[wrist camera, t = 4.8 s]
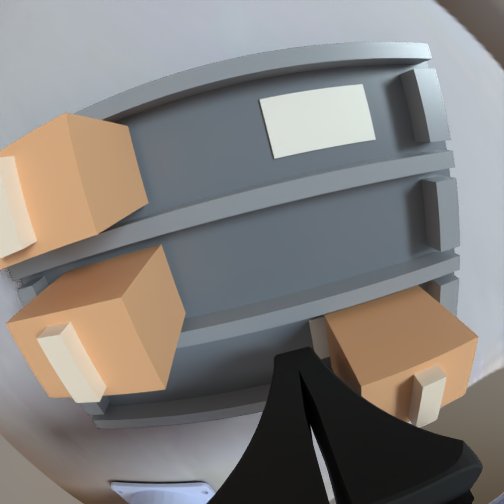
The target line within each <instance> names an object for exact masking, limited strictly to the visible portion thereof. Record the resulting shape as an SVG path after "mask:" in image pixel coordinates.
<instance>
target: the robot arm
mask: <svg viewBox="0 0 504 504" xmlns="http://www.w3.org/2000/svg"><path fill="white" fill-rule="evenodd" d="M310 425H311V426H310ZM311 427H312V430H313V433H314V435H315V438H316V440H317V443H318V446H319V448H320V451H321V453H322V456H323V458H324V461H325V464H326V467H327V470H328V473H329V477H330V481H331V485H332V489H333V492H334V496H335V500H336V504H472V502H473V500H474V497H473V495H472V493H471V491H470V489H471V487H472V486H473V484H474V483H475V482H476V480H477V479H478V477H479V475H480V473H481V471H482V468H483V467H482V463H481V462H480V460H479V459H478V457H477V455H476V454H475V453H474V452H473V451H472V450H471V449H470V447H469V446H467V444H466V443H465V442H464V441H462V440H458V439H454V438H450V437H446V436H442V435H438V434H435V433H432V432H429V431H426V430H424V429H421V428H418V427H416V426H414V425H412V424H409V423H407V422H405V421H403V420H401V419H399V418H396V417H394V416H392V415H391V414H389V413H387V412H385V411H384V410H382V409H380V408H378V407H377V406H375V405H374V404H372V403H371V402H369V401H368V400H366V399H365V398H363V397H362V396H361V395H359V394H358V393H357V392H355V391H354V390H353V389H352V388H350V387H349V386H348V385H347V384H346V383H344V382H343V381H342V380H341V379H340V378H339V377H338V376H337V375H336V374H335V373H333V372H332V371H331V370H330V369H329V368H328V367H327V365H326V364H325V363H324V362H323V361H322V360H321V359H320V358H319V356H318V355H317V354H316V353H315V351H314V350H313V348H311V347H309V346H308V347H304V348H301V349H297V350H293V351H289V352H285V353H281V354H277V355H276V356H275V357H274V370H273V376H272V382H271V386H270V390H269V394H268V398H267V402H266V405H265V407H264V410H263V413H262V416H261V419H260V421H259V424H258V426H257V429H256V431H255V433H254V435H253V437H252V439H251V441H250V443H249V445H248V447H247V449H246V450H245V452H244V454H243V456H242V458H241V459H240V461H239V462H238V464H237V465H236V467H235V468H234V470H233V471H232V473H231V474H230V475H229V477H228V478H227V479H226V481H225V482H224V484H223V485H222V486H221V487H220V489H219V490H218V491H217V492H216V493H215V492H214V491H213V489H212V488H211V487H210V486H209V485H208V484H206V483H203V482H199V483H178V484H142V483H121V482H112V483H111V485H110V487H111V488H112V489H113V490H114V491H115V492H116V493H117V494H119V495H120V496H121V497H122V498H123V499H124V500H126V501H127V502H128V503H129V504H329V500H328V497H327V493H326V490H325V486H324V483H323V479H322V475H321V472H320V468H319V464H318V461H317V457H316V454H315V450H314V446H313V440H312V433H311ZM489 504H504V493H503V494H502V495H501V496H499V497H498V498H496V499H495V500H493V501H492V502H491V503H489Z"/></svg>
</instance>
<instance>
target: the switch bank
mask: <svg viewBox="0 0 504 504" xmlns="http://www.w3.org/2000/svg"><path fill="white" fill-rule="evenodd" d="M430 59H432V57H431V54H430V50H429V47H428V44H426V43H408V42H354V43H336V44H323V45H313V46H304V47H296V48H288V49H281V50H275V51H269V52H263V53H257V54H252V55H247V56H242V57H237V58H233V59H228V60H224V61H220V62H216V63H212V64H208V65H204V66H200V67H196V68H193V69H189V70H186V71H183V72H179V73H176V74H173V75H170V76H166V77H163V78H160V79H157V80H154V81H151V82H149V83H146V84H143V85H140V86H138V87H135V88H132V89H130V90H127V91H124V92H122V93H119V94H117V95H115V96H112V97H110V98H107V99H105V100H103V101H100V102H98V103H96V104H94V105H91V106H89V107H87V108H85V109H83V110H81V111H79V112H77V113H74V114H75V115H80V116H85V117H90V118H94V119H99V120H103V121H108V122H112V123H117V124H121V125H125V126H128V128H129V132H130V136H131V140H132V144H133V148H134V152H135V156H136V160H137V163H138V167H139V171H140V174H141V178H142V182H143V185H144V189H145V192H146V196H147V199H148V202H149V203H148V204H146V205H144V206H143V207H141V208H139V209H138V210H136V211H134V212H133V213H131V214H129V215H128V216H126V217H125V218H123V219H121V220H120V221H118V222H116V223H115V224H113V225H112V226H110V227H109V228H107V229H105V230H104V231H102V232H101V233H99V234H98V235H95V236H92V237H89V238H86V239H83V240H80V241H77V242H74V243H71V244H68V245H65V246H62V247H60V248H57V249H54V250H51V251H48V252H46V253H43V254H40V255H38V256H35V257H32V258H29V259H27V260H24V261H22V262H19V263H16V264H14V265H11V266H9V267H7V268H8V271H9V273H10V276H11V278H12V281H14V280H17V279H21V282H22V284H23V286H22V287H20V288H19V289H18V290H17V292H18V295H19V297H20V299H21V301H22V304H23V306H24V307H25V306H26V305H27V304H28V303H29V302H30V301H32V300H33V299H34V298H35V297H36V296H37V295H39V294H40V293H41V292H42V291H43V290H44V289H46V288H47V287H48V286H49V285H50V284H52V283H53V282H54V281H55V280H56V279H58V278H59V277H60V276H61V275H63V274H64V273H65V272H66V271H69V270H73V269H76V268H79V267H83V266H86V265H89V264H93V263H96V262H100V261H103V260H106V259H110V258H113V257H117V256H120V255H124V254H127V253H131V252H134V251H138V250H142V249H145V248H149V247H152V246H156V245H160V244H162V247H163V250H164V253H165V256H166V259H167V262H168V265H169V268H170V271H171V274H172V277H173V279H174V282H175V285H176V288H177V291H178V293H179V296H180V299H181V302H182V304H183V307H184V310H185V312H186V314H185V318H184V321H183V325H182V328H181V332H180V336H179V339H178V343H177V347H176V351H175V354H174V358H173V362H172V366H171V370H170V374H169V378H168V382H167V386H166V389H165V390H157V391H149V392H139V393H129V394H118V395H105V396H102V398H101V400H100V402H86V403H80V404H81V406H82V407H83V409H84V410H85V411H86V413H87V414H88V415H94V417H93V420H92V421H93V422H94V424H95V425H96V426H97V427H98V429H106V428H139V427H155V426H167V425H178V424H187V423H196V422H204V421H211V420H218V419H224V418H230V417H236V416H242V415H247V414H253V413H258V412H263V410H264V407H265V405H266V402H267V398H268V394H269V390H270V386H271V382H272V376H273V370H274V357H275V356H276V355H277V354H281V353H285V352H289V351H293V350H297V349H301V348H304V347H308V346H309V347H311V348H313V350H314V351H315V353H316V354H317V355H318V356H319V358H320V359H321V360H322V361H323V362H324V363H325V364H326V365H327V367H328V368H329V369H330V370H331V371H332V372H333V369H332V367H331V359H330V352H329V345H328V338H327V331H326V324H325V318H324V315H325V314H328V313H332V312H335V311H339V310H342V309H346V308H349V307H352V306H356V305H359V304H362V303H366V302H369V301H372V300H375V299H378V298H381V297H385V296H388V295H391V294H394V293H397V292H400V291H403V290H406V289H409V288H412V287H414V286H417V285H418V286H419V287H421V288H422V289H423V290H424V291H426V292H427V293H428V294H429V295H430V296H432V297H433V298H434V299H435V300H436V301H438V302H439V303H440V304H441V305H442V306H444V307H445V308H446V309H447V310H448V311H450V312H451V313H452V314H453V315H454V316H455V317H456V315H457V304H458V290H459V278H457V277H456V276H454V271H457V270H459V267H460V255H458V254H456V253H454V248H455V247H458V246H460V229H459V207H458V193H457V182H456V178H452V177H450V171H449V168H454V167H455V164H454V156H453V151H449V150H447V149H446V143H445V140H451V137H450V131H449V126H448V120H447V115H446V111H445V106H444V102H443V97H442V93H441V89H440V85H439V81H438V77H437V74H436V70H435V69H429V67H428V64H427V61H428V60H430ZM333 373H334V372H333Z"/></svg>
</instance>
